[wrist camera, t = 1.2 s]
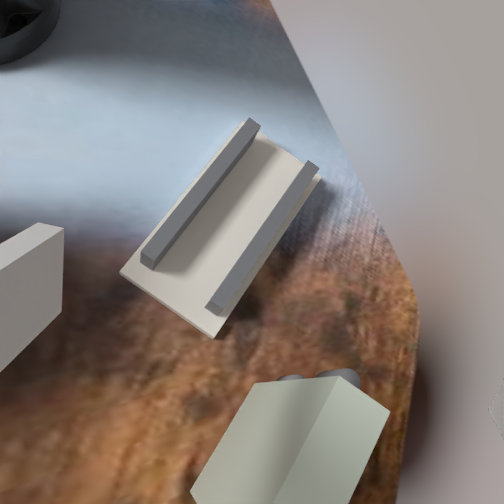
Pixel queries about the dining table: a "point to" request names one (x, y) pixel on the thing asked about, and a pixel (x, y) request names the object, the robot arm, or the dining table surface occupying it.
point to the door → (294, 443)
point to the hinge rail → (222, 229)
